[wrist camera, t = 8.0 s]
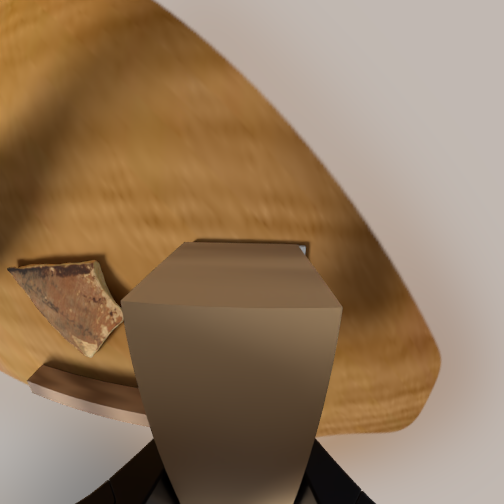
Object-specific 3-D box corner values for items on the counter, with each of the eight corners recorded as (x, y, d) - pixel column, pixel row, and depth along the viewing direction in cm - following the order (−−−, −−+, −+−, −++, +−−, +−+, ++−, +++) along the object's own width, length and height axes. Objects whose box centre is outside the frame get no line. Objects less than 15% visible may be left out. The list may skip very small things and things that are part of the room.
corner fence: (46, 376, 20) (32, 392, 17) (19, 278, 18) (-3, 289, 15) (178, 405, 21) (171, 430, 18) (165, 292, 18) (151, 311, 15)
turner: (133, 241, 7) (44, 292, 4) (350, 245, 7) (431, 303, 4) (184, 486, 10) (173, 545, 7) (298, 490, 10) (305, 549, 7)
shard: (16, 264, 18) (4, 269, 17) (50, 197, 17) (36, 199, 15) (95, 353, 20) (86, 364, 18) (142, 298, 19) (133, 308, 17)
